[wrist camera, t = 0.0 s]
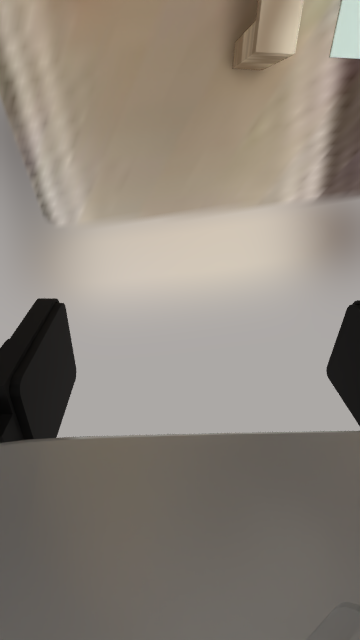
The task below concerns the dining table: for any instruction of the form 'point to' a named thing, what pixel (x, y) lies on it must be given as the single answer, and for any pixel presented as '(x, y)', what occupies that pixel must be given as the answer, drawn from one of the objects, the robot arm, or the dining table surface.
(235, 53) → the bridge
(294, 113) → the dining table surface
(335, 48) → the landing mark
